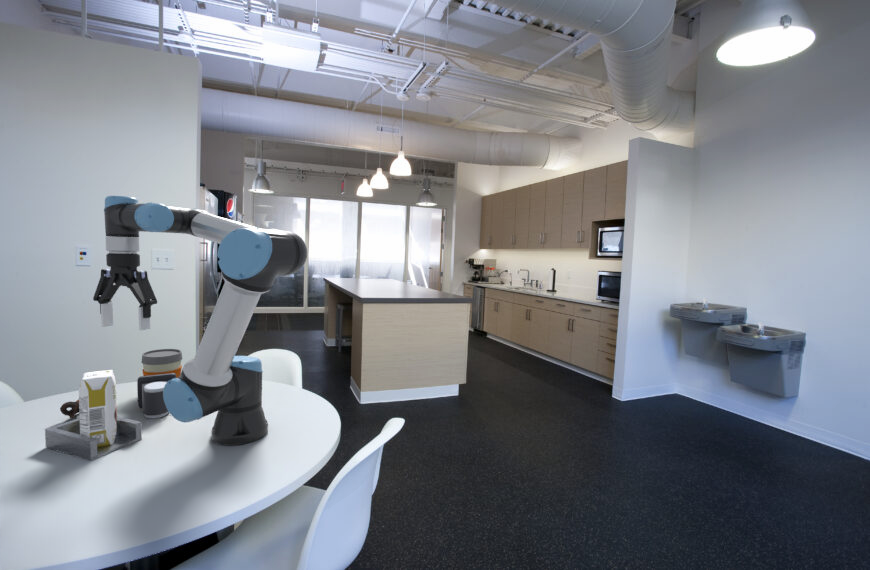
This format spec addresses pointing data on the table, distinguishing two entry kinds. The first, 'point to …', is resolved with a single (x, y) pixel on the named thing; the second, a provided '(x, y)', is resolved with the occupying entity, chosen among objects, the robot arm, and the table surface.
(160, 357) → the reusable coffee cup
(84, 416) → the juice carton
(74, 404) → the brown ring with handle
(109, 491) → the table surface
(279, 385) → the table surface
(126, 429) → the dock
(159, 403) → the wireless charger stand
